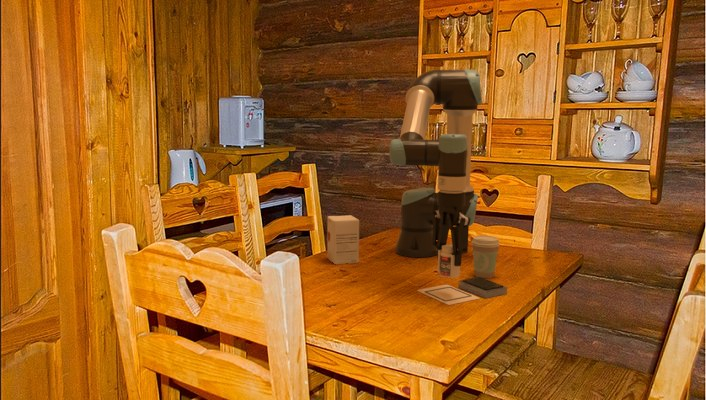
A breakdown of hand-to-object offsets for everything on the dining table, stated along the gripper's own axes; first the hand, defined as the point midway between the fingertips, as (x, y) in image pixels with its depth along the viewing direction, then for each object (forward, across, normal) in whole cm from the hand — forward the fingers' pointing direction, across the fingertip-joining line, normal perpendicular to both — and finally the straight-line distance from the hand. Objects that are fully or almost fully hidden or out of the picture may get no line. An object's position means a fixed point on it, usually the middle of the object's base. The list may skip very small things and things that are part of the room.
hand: (448, 274), depth 154 cm
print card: (+6, 0, 0) cm, 6 cm away
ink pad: (+6, +2, +11) cm, 13 cm away
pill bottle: (+1, 0, 0) cm, 1 cm away
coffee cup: (+6, -9, +22) cm, 25 cm away
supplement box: (+6, -46, -8) cm, 47 cm away
